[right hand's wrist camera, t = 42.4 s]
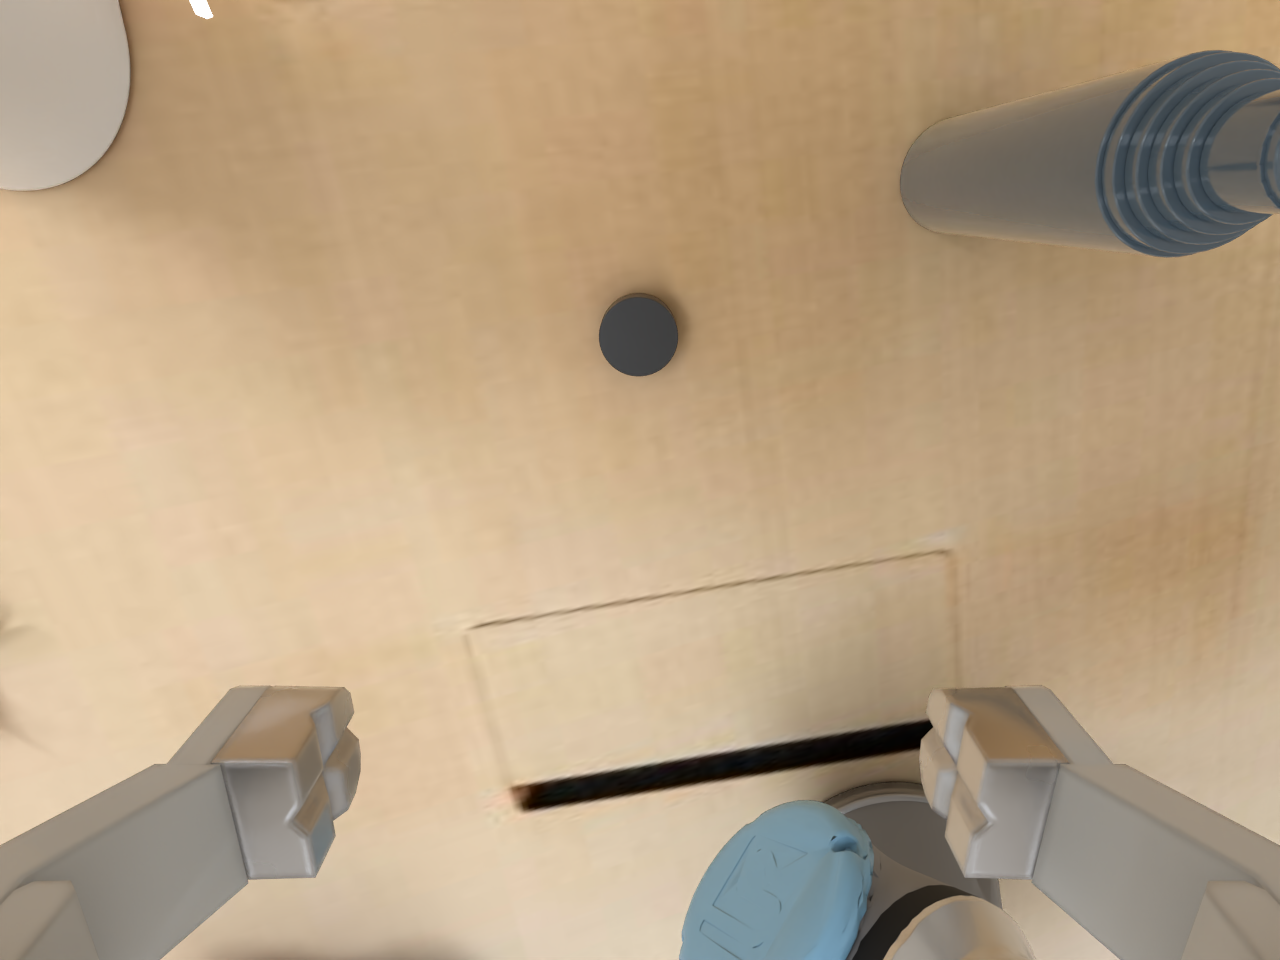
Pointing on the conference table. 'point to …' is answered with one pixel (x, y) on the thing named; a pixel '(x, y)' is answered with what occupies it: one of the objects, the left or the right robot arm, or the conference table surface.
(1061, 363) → the conference table surface
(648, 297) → the cap
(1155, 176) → the bottle
